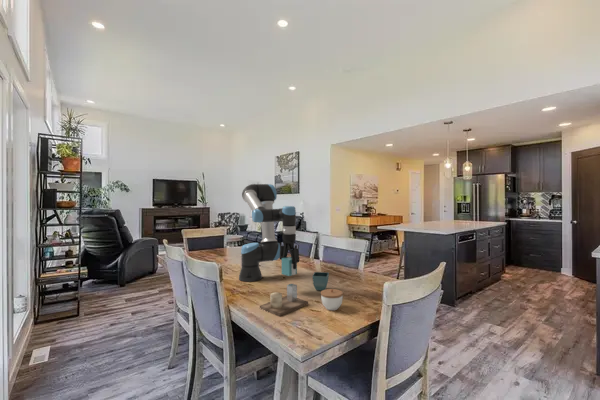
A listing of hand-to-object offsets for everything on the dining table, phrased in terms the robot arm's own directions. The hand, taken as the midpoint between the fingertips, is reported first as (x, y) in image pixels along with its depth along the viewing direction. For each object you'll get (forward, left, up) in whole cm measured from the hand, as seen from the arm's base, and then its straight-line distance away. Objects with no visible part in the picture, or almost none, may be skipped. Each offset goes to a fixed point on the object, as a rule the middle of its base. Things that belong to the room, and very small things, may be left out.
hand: (289, 273), depth 167 cm
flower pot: (+10, +16, -11) cm, 22 cm away
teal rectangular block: (0, 0, 0) cm, 0 cm away
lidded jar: (+32, -3, -11) cm, 34 cm away
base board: (+13, -17, -11) cm, 24 cm away
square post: (+13, -12, -11) cm, 21 cm away
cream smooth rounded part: (+13, -23, -11) cm, 29 cm away
